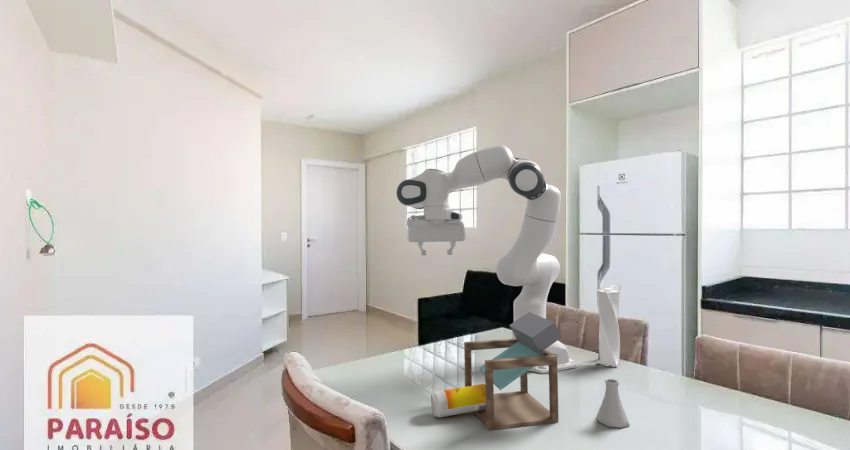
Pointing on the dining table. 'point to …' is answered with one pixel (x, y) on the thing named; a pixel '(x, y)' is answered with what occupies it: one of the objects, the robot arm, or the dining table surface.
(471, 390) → the beer can
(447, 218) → the robot arm
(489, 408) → the stand
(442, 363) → the dining table surface
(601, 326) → the skyscraper
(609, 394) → the flask
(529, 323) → the trapdoor
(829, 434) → the dining table surface
